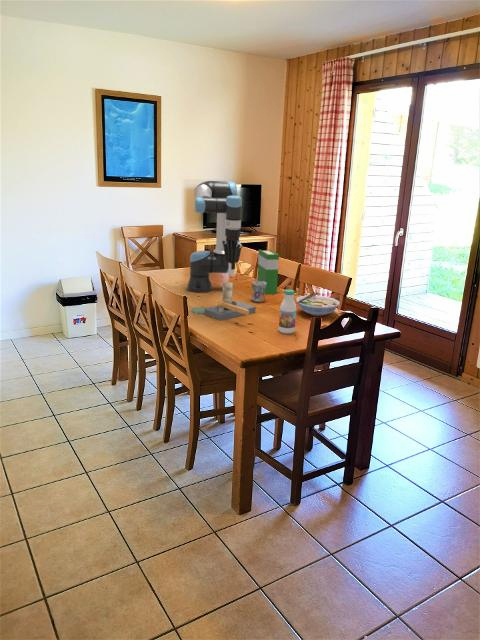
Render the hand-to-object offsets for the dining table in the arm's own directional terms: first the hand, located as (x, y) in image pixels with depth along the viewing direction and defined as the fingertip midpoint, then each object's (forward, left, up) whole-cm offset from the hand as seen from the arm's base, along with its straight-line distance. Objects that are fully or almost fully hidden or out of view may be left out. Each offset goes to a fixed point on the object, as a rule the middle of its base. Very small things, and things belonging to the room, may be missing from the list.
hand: (231, 275), depth 253 cm
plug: (-3, +1, -21) cm, 21 cm away
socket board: (-2, +2, -21) cm, 21 cm away
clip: (+9, -6, -15) cm, 19 cm away
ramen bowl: (+26, +39, -21) cm, 51 cm away
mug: (-12, +32, -21) cm, 40 cm away
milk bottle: (+36, +5, -21) cm, 42 cm away
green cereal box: (-26, +53, -21) cm, 62 cm away
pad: (-13, -9, -21) cm, 26 cm away
